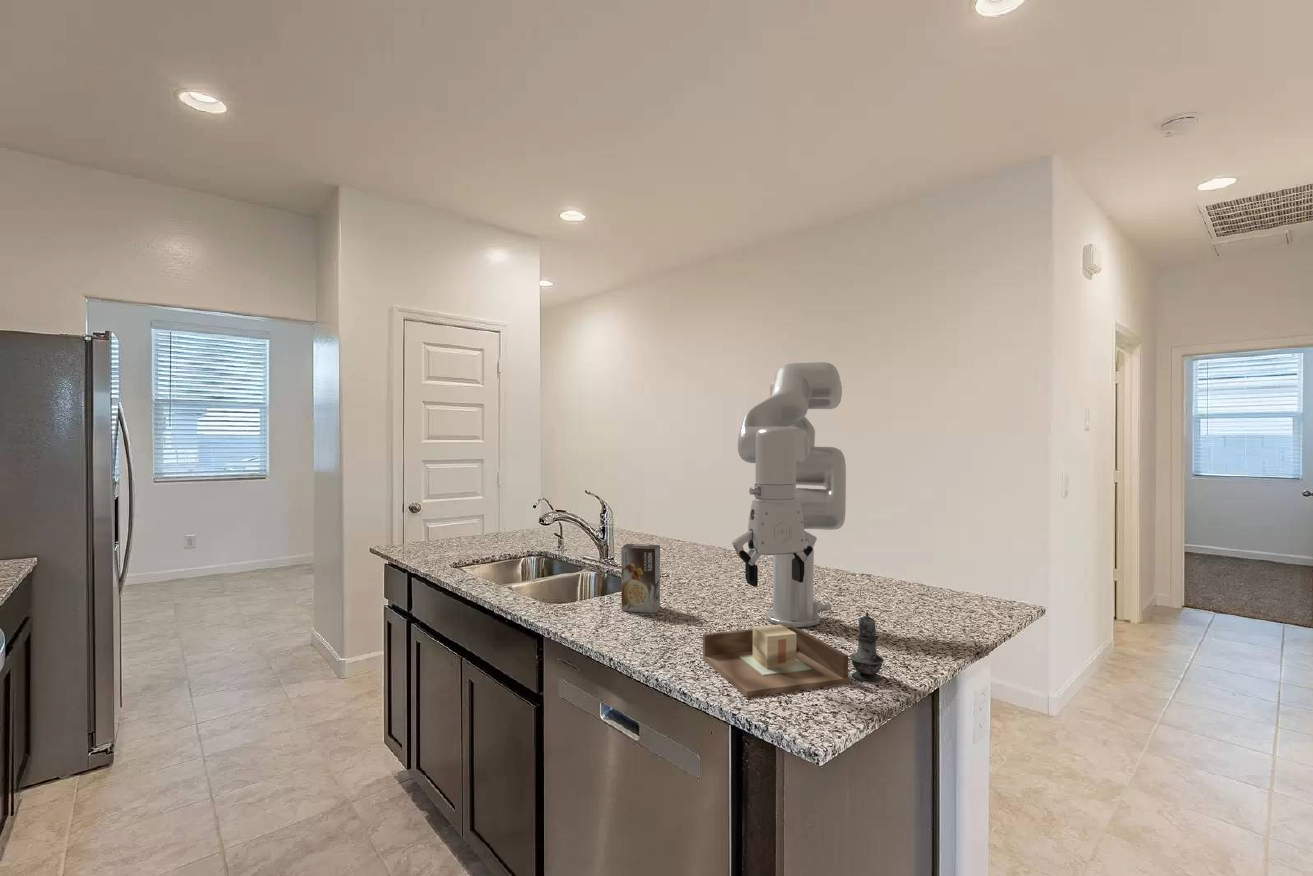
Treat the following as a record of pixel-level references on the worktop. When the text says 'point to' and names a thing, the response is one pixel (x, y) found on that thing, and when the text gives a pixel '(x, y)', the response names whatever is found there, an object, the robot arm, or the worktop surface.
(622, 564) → the coffee box
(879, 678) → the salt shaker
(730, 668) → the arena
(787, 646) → the maple cube
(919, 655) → the worktop surface
